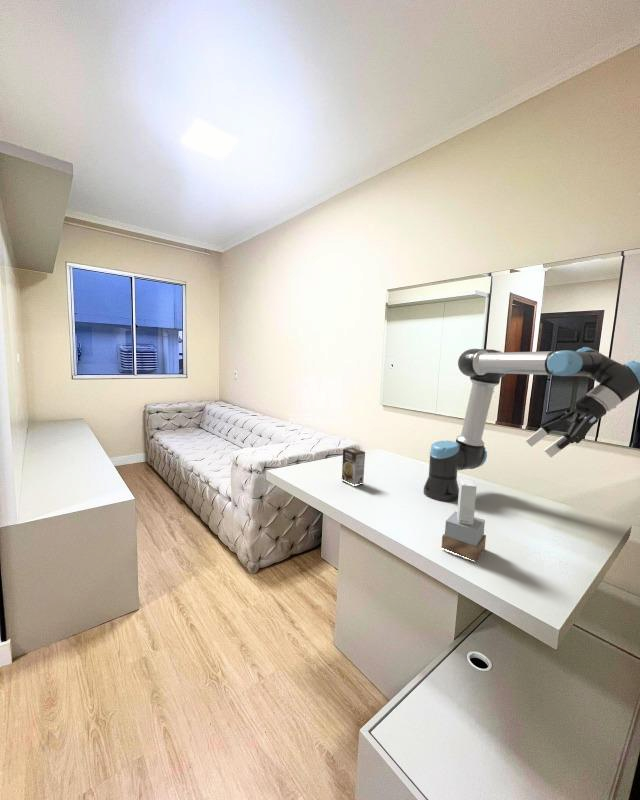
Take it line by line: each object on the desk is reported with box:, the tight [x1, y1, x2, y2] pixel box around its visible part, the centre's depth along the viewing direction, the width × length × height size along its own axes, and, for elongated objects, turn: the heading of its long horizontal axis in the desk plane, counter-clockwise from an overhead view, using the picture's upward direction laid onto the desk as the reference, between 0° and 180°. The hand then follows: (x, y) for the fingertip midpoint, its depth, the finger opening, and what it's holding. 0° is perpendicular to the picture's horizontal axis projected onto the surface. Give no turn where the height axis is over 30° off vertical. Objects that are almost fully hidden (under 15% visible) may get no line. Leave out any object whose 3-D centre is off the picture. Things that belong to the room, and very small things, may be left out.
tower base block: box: [441, 533, 487, 562], centre depth 106 cm, size 10×10×5 cm
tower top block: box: [444, 510, 486, 547], centre depth 106 cm, size 9×9×5 cm
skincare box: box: [456, 478, 477, 525], centre depth 105 cm, size 6×4×12 cm
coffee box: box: [341, 447, 366, 485], centre depth 162 cm, size 9×6×16 cm
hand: (537, 448), depth 108 cm, fingers open, 13 cm apart
